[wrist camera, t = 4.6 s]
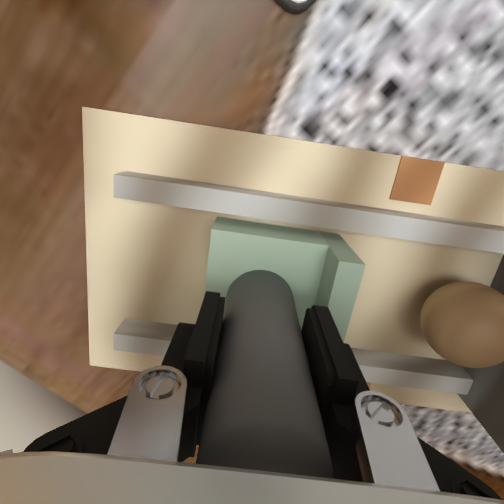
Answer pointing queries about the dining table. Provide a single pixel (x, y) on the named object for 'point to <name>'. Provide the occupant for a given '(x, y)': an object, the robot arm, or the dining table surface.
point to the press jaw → (272, 344)
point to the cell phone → (295, 5)
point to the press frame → (309, 218)
